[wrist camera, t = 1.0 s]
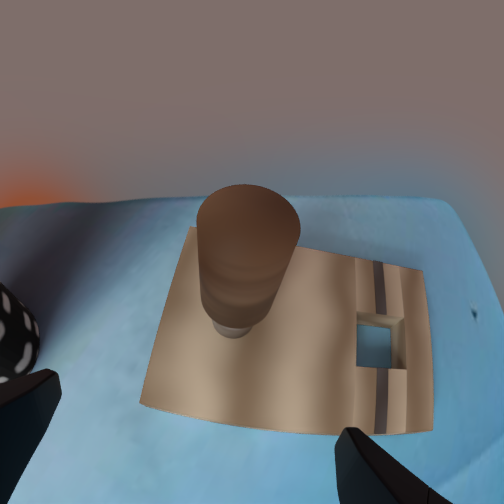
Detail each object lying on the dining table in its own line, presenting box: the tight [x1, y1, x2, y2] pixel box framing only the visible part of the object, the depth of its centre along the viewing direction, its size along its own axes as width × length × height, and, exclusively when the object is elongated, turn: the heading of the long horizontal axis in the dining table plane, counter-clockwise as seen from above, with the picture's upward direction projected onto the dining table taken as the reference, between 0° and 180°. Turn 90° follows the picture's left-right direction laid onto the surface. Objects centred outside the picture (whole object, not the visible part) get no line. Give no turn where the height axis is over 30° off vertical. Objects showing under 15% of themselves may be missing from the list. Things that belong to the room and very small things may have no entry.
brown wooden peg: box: [196, 184, 300, 339], centre depth 18 cm, size 4×4×11 cm
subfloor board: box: [139, 226, 434, 436], centre depth 23 cm, size 22×15×3 cm
